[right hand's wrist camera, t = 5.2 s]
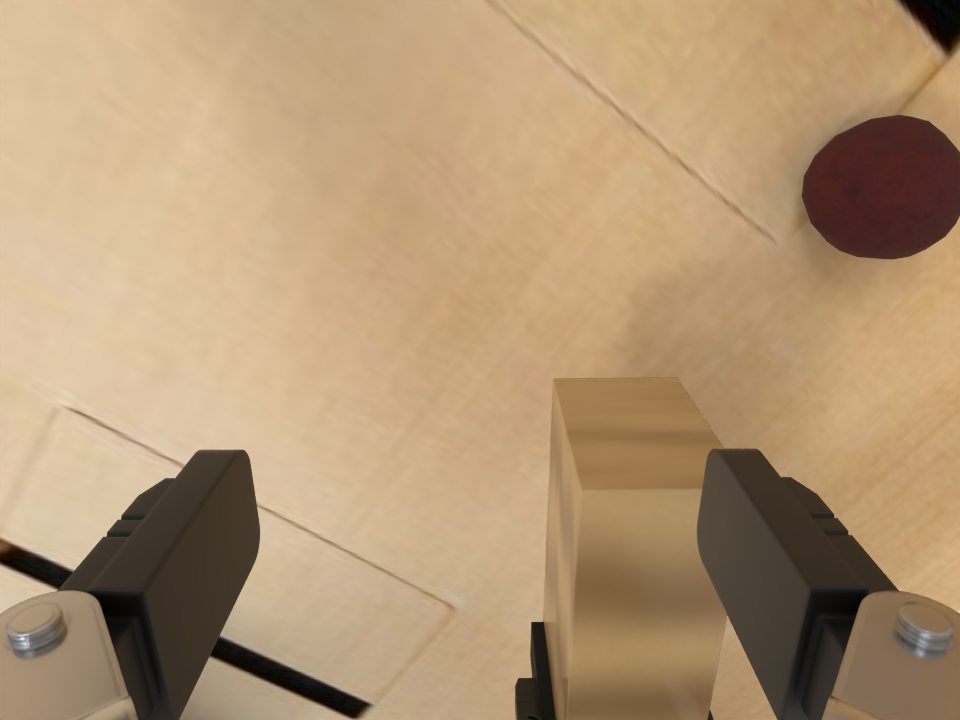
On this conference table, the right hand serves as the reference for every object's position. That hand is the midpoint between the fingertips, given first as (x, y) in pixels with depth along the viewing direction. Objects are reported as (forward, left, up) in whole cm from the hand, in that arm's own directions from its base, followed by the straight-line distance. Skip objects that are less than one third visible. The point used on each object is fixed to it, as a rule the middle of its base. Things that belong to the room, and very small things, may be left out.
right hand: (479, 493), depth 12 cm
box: (+15, +11, -20) cm, 28 cm away
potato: (-6, +21, -30) cm, 37 cm away
